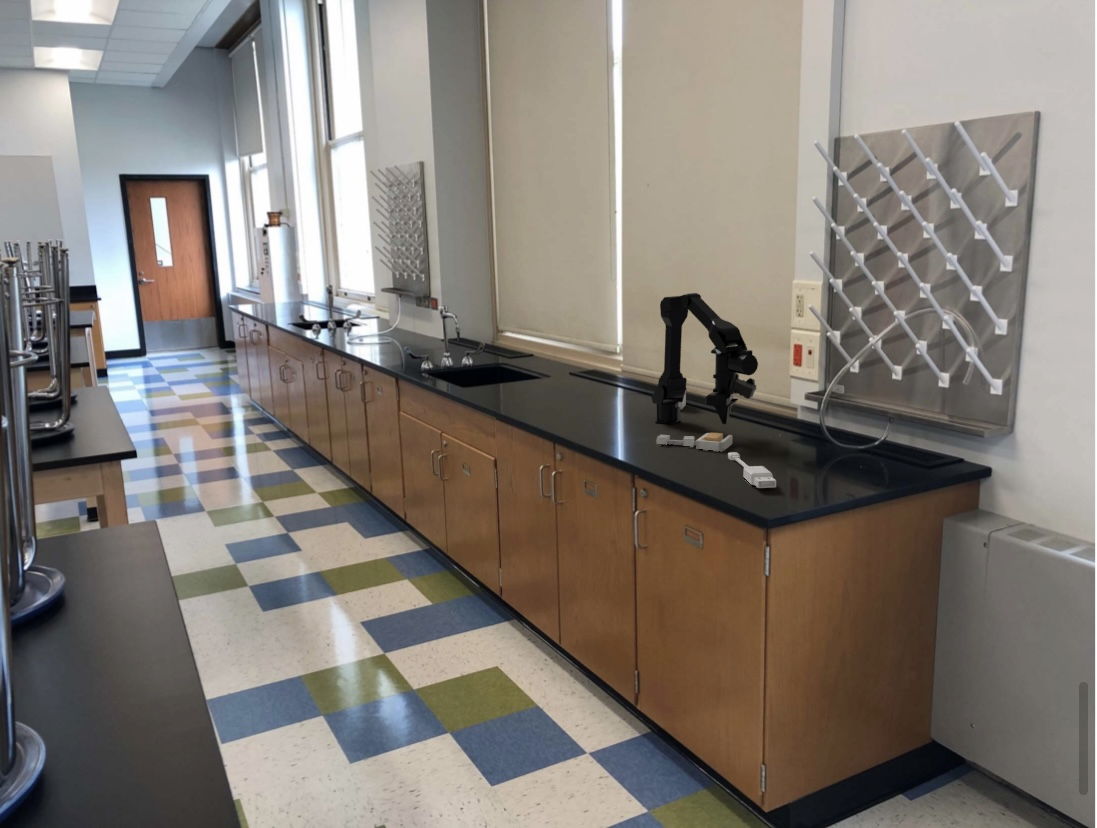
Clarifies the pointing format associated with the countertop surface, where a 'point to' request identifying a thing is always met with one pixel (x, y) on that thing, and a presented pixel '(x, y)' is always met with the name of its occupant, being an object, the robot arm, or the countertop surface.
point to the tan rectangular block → (714, 437)
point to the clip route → (666, 440)
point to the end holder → (713, 443)
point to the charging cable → (755, 473)
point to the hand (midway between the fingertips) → (724, 423)
